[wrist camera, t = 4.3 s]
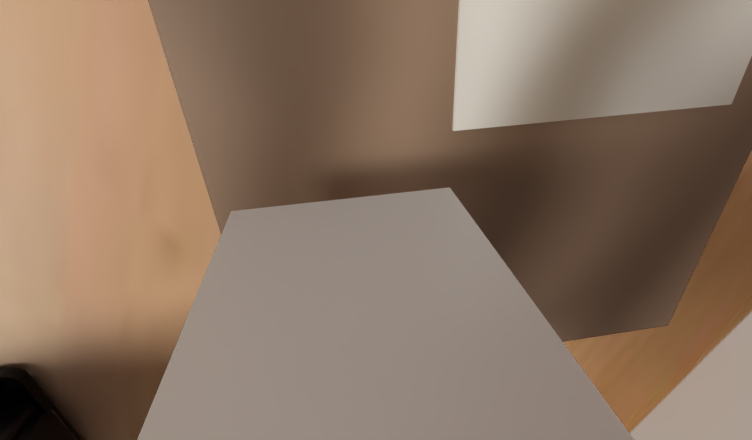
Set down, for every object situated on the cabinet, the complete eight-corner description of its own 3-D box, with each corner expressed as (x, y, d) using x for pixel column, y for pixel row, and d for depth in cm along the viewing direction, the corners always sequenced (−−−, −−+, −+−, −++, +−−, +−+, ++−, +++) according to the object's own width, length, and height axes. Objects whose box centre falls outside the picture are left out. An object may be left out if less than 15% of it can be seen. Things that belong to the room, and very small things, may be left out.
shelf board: (272, 353, 15) (263, 428, 12) (47, -438, 6) (-176, -805, 3) (640, 300, 17) (702, 357, 14) (924, -401, 7) (1272, -633, 5)
